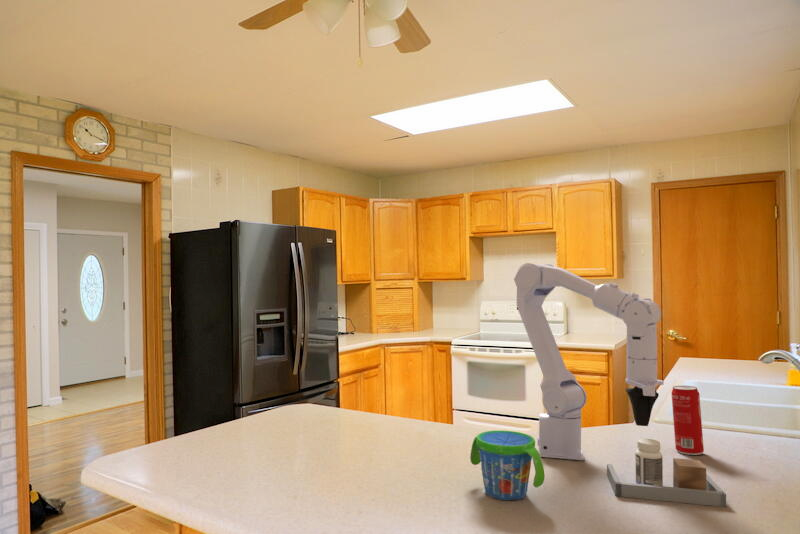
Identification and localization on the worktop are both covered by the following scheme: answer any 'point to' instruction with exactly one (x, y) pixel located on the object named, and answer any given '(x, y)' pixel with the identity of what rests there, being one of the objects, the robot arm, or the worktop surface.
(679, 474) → the walnut block
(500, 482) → the snack cup
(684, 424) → the beverage can
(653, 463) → the pill bottle
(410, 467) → the worktop surface
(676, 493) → the corral
